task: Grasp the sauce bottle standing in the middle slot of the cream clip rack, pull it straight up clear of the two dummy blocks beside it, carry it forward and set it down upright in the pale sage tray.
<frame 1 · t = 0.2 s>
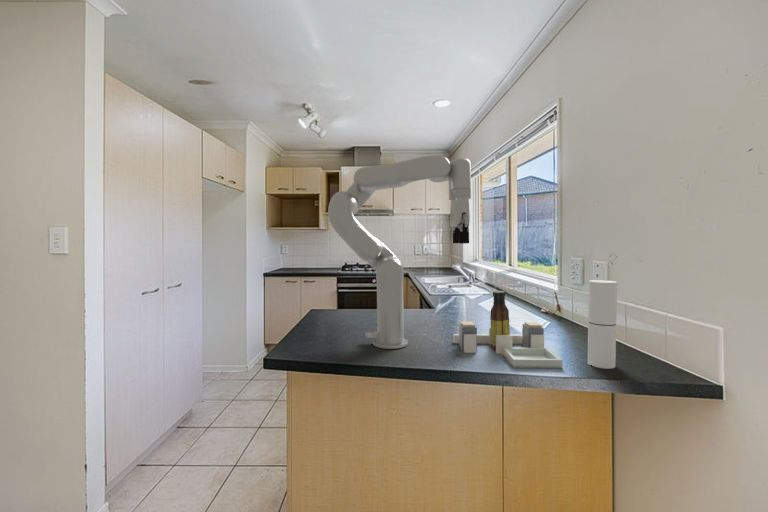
hand: (460, 243, 129), 36 cm above the countertop, tool pointing down, fingers open, 9 cm apart
cylindrical container: (601, 365, 109), on the countertop
clip rack: (500, 348, 125), on the countertop
tray: (530, 361, 112), on the countertop
sauce bottle: (500, 349, 125), on the countertop
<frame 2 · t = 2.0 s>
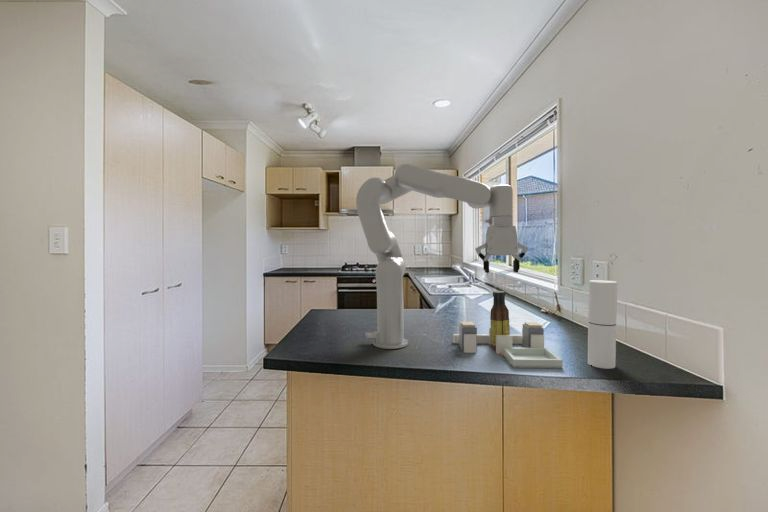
hand: (501, 272, 124), 26 cm above the countertop, tool pointing down, fingers open, 9 cm apart
nothing on the countertop moved.
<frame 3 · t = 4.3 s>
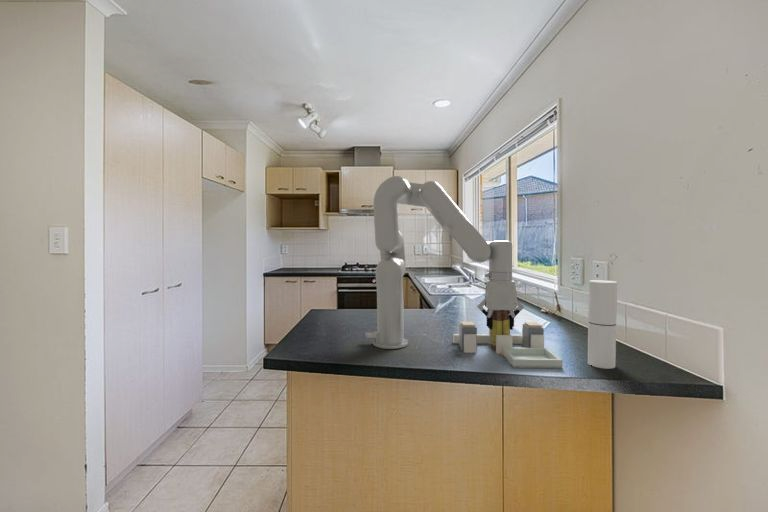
hand: (500, 328, 125), 7 cm above the countertop, tool pointing down, fingers closed on sauce bottle, 6 cm apart
sauce bottle: (500, 349, 125), on the countertop, touching gripper
everything else where it was.
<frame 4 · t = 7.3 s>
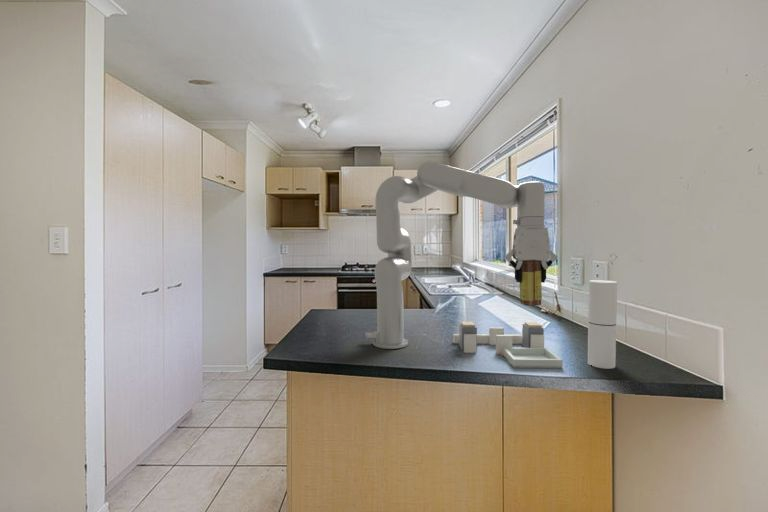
hand: (530, 281, 111), 25 cm above the countertop, tool pointing down, fingers closed on sauce bottle, 6 cm apart
sauce bottle: (530, 305, 112), point 17 cm above the countertop, touching gripper
everything else where it was.
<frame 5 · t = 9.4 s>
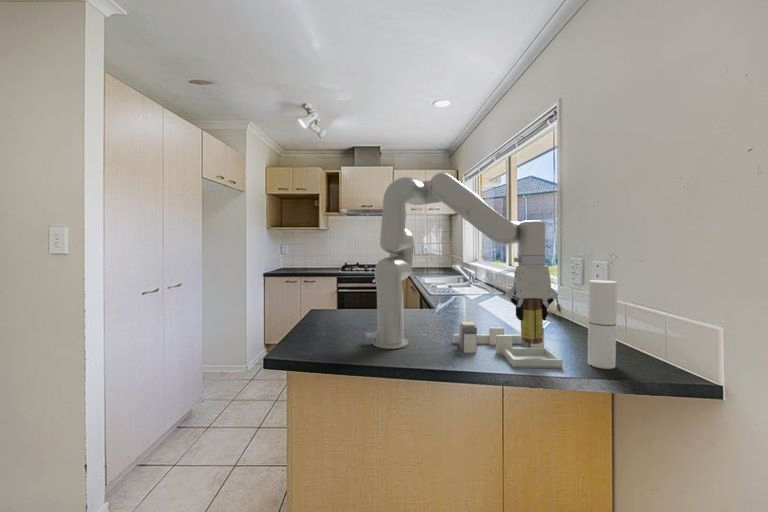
hand: (531, 319, 111), 13 cm above the countertop, tool pointing down, fingers closed on sauce bottle, 6 cm apart
sauce bottle: (531, 342, 112), point 6 cm above the countertop, touching gripper
everything else where it was.
when the fingers open (9 cm above the countertop, at t = 10.8 s): sauce bottle drops 1 cm, resting on tray.
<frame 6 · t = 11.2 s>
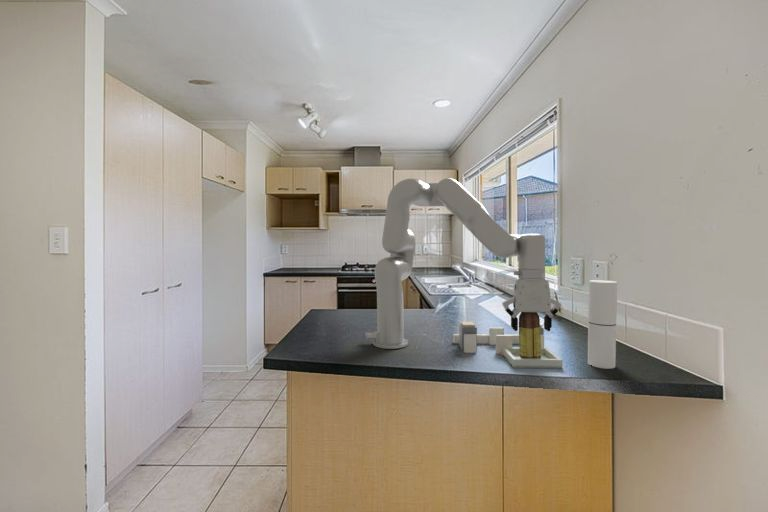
hand: (531, 329, 112), 10 cm above the countertop, tool pointing down, fingers open, 9 cm apart
sauce bottle: (529, 360, 112), resting on tray
everything else where it was.
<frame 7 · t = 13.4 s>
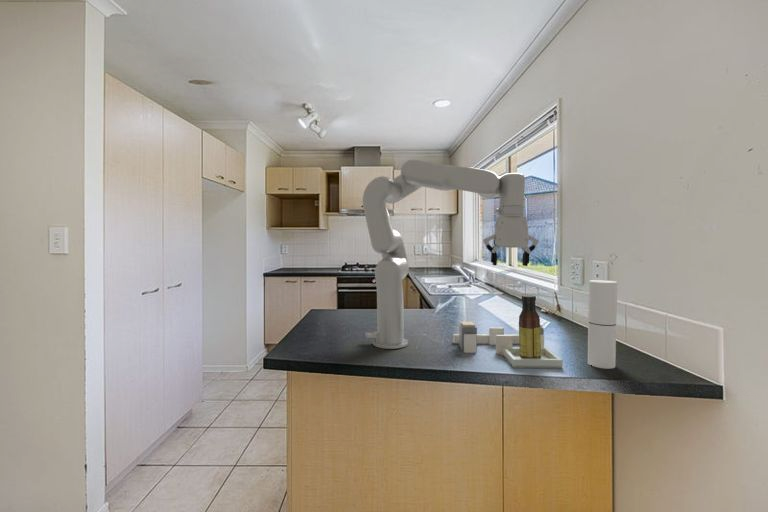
hand: (509, 265, 118), 29 cm above the countertop, tool pointing down, fingers open, 9 cm apart
nothing on the countertop moved.
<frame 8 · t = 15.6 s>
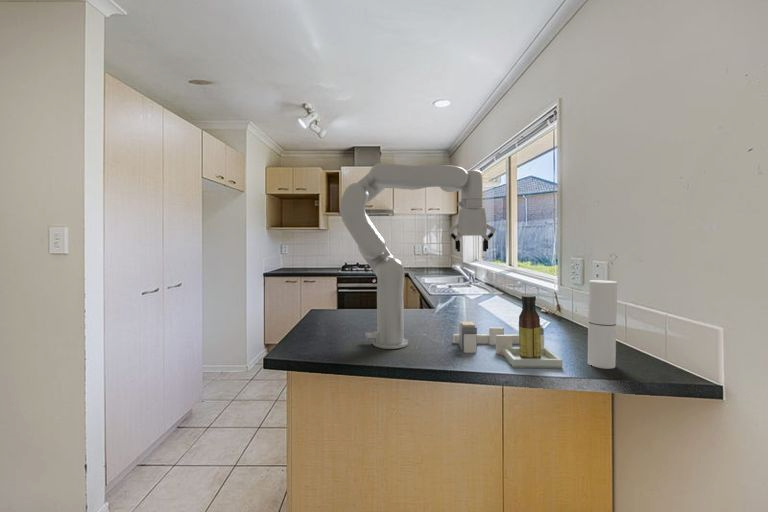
hand: (471, 251, 134), 33 cm above the countertop, tool pointing down, fingers open, 9 cm apart
nothing on the countertop moved.
at the end: sauce bottle inside the target area on the tray (0.3 cm from its centre), point 0.4 cm above the tray's base; sauce bottle tilted 0°; the gripper is holding nothing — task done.
